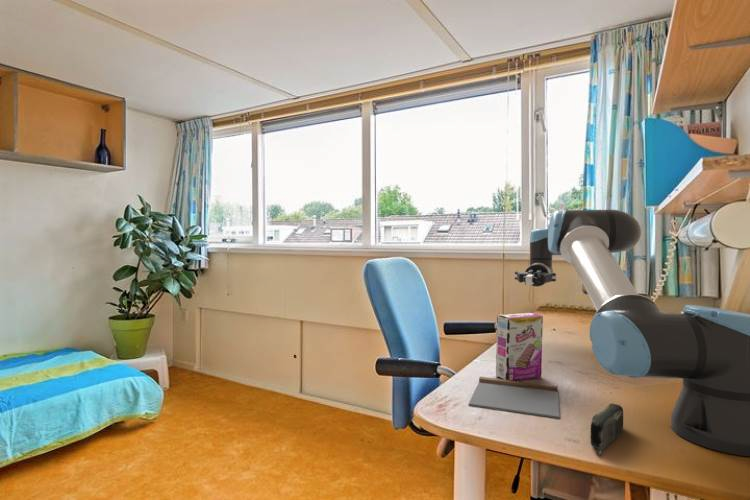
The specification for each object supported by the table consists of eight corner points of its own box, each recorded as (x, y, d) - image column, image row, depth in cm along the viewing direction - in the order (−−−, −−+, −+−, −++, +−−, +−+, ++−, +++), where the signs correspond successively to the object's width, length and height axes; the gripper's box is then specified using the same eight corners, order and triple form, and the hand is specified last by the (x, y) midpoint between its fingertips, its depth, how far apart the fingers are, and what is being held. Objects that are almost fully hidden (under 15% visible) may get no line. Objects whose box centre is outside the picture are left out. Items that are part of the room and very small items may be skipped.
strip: (557, 393, 99) (557, 387, 99) (479, 383, 105) (479, 378, 105) (557, 390, 100) (557, 385, 100) (480, 381, 107) (480, 376, 107)
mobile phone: (608, 399, 82) (585, 422, 71) (625, 403, 80) (604, 428, 69) (607, 425, 82) (584, 452, 71) (625, 430, 80) (604, 458, 69)
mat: (559, 418, 84) (559, 416, 84) (468, 405, 91) (468, 403, 91) (557, 393, 98) (557, 391, 98) (479, 383, 105) (479, 381, 105)
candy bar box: (507, 383, 105) (508, 317, 105) (495, 377, 110) (495, 314, 110) (543, 378, 109) (543, 314, 109) (529, 372, 114) (530, 311, 114)
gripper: (558, 286, 141) (552, 295, 120) (517, 284, 147) (505, 292, 126) (558, 264, 141) (552, 268, 120) (517, 263, 147) (505, 267, 126)
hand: (528, 281), depth 123 cm, fingers closed
